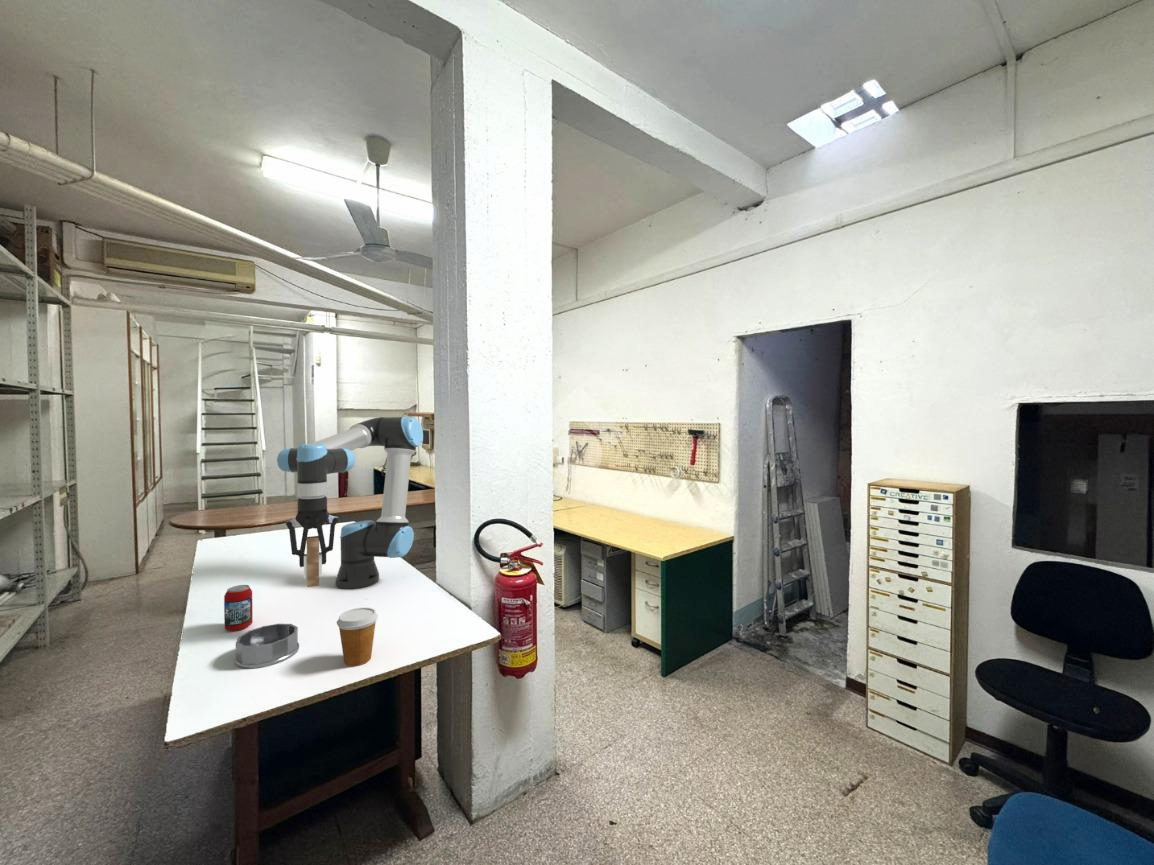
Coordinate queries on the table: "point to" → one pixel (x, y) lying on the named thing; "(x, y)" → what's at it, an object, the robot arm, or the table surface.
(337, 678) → the table surface
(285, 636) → the tin
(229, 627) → the beverage can
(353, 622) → the disposable coffee cup
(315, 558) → the long wooden beam
